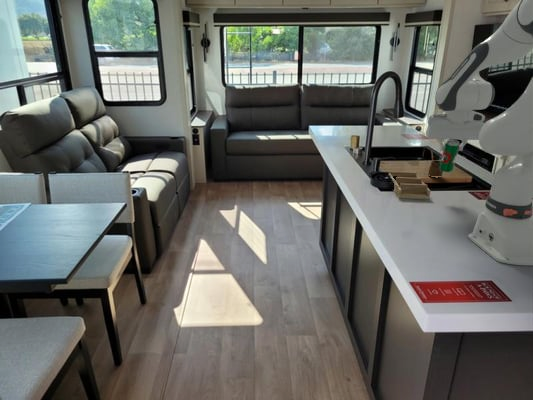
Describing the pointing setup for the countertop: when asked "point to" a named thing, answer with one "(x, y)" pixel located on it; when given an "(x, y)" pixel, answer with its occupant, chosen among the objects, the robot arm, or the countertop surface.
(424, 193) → the rack
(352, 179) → the countertop surface
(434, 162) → the utensil holder
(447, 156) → the soda can
